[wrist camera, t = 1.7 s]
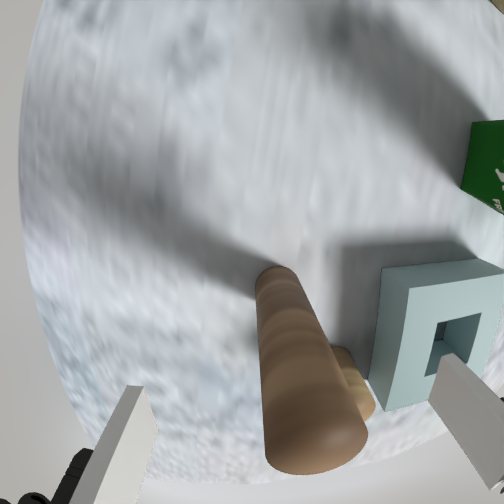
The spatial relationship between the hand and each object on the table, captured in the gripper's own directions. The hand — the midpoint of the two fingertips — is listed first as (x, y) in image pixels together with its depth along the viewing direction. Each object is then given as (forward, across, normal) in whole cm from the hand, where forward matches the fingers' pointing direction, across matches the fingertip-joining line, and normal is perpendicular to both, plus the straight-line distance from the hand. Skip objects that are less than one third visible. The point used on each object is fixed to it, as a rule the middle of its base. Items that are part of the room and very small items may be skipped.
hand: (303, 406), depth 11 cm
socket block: (+13, +15, -4) cm, 21 cm away
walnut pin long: (+13, 0, 0) cm, 13 cm away
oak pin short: (+13, +5, -8) cm, 16 cm away
